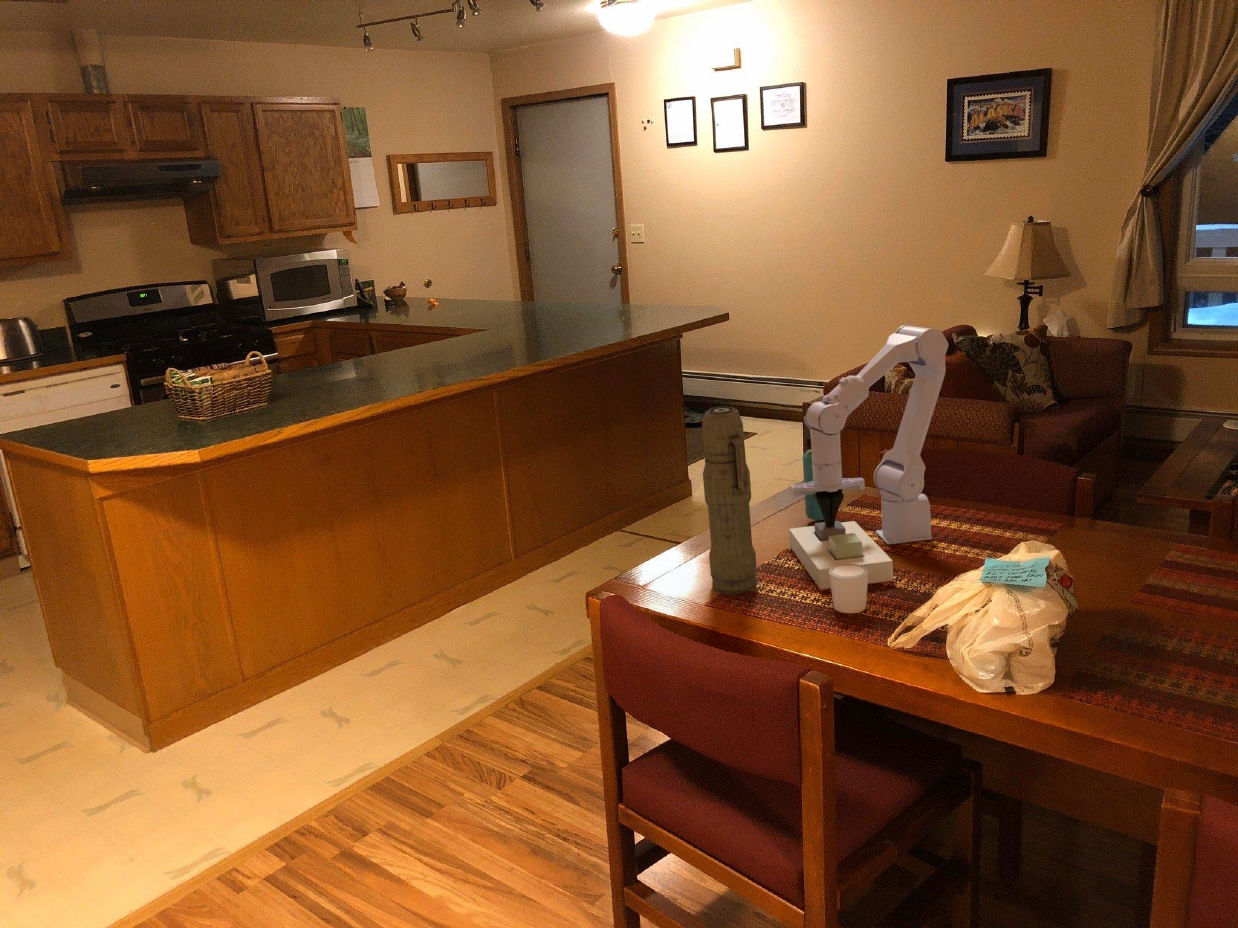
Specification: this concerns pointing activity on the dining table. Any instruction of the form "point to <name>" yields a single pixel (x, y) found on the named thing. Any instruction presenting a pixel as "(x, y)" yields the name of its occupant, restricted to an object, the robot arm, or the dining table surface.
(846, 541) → the sage key
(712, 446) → the thermos
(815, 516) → the beverage bottle
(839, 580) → the white cup
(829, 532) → the charcoal key
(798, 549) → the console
